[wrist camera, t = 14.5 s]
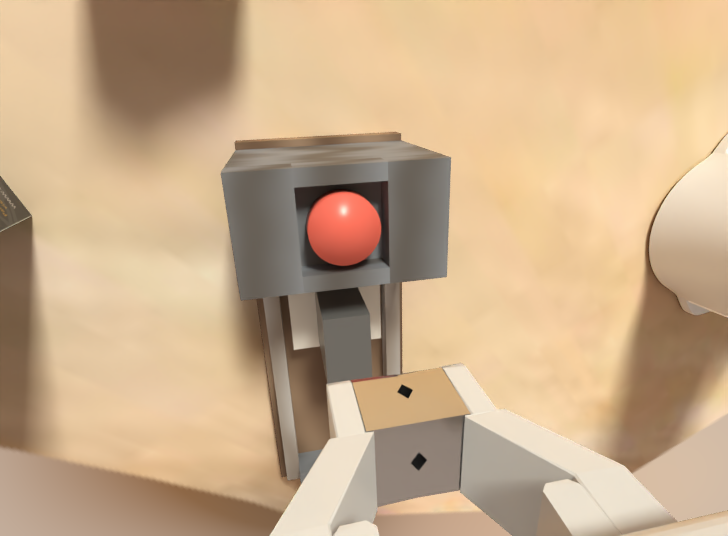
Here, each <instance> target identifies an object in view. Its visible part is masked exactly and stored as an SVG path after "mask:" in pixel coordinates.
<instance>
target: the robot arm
mask: <svg viewBox="0 0 728 536" xmlns="http://www.w3.org/2000/svg"><path fill="white" fill-rule="evenodd" d="M649 257H650V263H651V267H652V269H653V272H654V274H655V276H656V277H657V279H658V280H659V281H660V282H661V283H662V284H663V285H664V286H665V287H667V288H668V289H670V290H671V291H673V292H674V293H675V294H676V295H677V298H678V300H679V303H680V305H681V307H682V309H683V310H684V311H685V312H688V313H690V314H693V315H701V314H704V313H707V312H710V311H712V312H715V313H717V314H719V315H722V316H724V317H727V318H728V134H727V135H726V136H725V137H724V138H723V140H722V141H721V142H720V143H719V145H718V146H717V147H716V149H715V150H714V152H713V153H712V154H711V155H710V156H709V157H707V158H706V159H705V160H704V161H702V162H701V163H699V164H698V165H697V166H695V167H694V168H693V169H691V170H690V171H689V172H688V173H687V174H686V175H685V176H684V177H683V178H682V179H681V180H680V181H679V182H678V183H677V184H676V185H675V186H674V188H673V189H672V190H671V191H670V193H669V194H668V196H667V197H666V199H665V200H664V202H663V204H662V205H661V207H660V209H659V211H658V214H657V216H656V218H655V221H654V224H653V227H652V231H651V235H650V242H649ZM326 393H327V405H328V417H329V429H330V438H331V439H329V440H328V442H327V443H326V445H325V447H324V448H323V450H322V451H321V453H320V455H319V456H318V458H317V460H316V461H315V463H314V464H313V466H312V468H311V469H310V471H309V473H308V474H307V476H306V477H305V479H304V481H303V482H302V484H301V486H300V487H299V489H298V490H297V492H296V494H295V495H294V497H293V498H292V500H291V502H290V503H289V505H288V507H287V508H286V510H285V511H284V513H283V515H282V517H281V518H280V520H279V521H278V523H277V524H276V526H275V528H274V530H273V531H272V533H271V534H270V536H379V532H378V529H377V526H376V525H374V524H373V521H374V519H375V515H376V512H377V507H379V506H383V505H387V504H392V503H396V502H400V501H405V500H409V499H413V498H417V497H423V496H429V495H435V494H441V493H447V492H452V491H458V490H460V493H462V494H463V495H464V496H465V497H466V498H468V499H469V500H470V501H471V502H472V503H474V504H475V505H476V506H477V507H478V508H480V509H481V510H482V511H483V512H484V513H486V514H487V515H488V516H489V517H490V518H492V519H493V520H494V521H495V522H497V523H498V524H499V525H500V526H501V527H503V528H504V529H505V530H506V531H507V532H509V533H510V534H511V535H512V536H728V510H727V511H722V512H719V513H714V514H710V515H705V516H701V517H697V518H693V519H688V520H684V521H680V522H677V520H676V519H675V518H674V517H673V516H672V515H671V514H670V513H669V512H668V511H667V510H666V509H665V508H664V507H663V506H662V505H661V504H660V503H659V502H658V501H657V500H656V498H654V496H653V495H652V494H651V493H650V492H649V491H648V490H647V489H646V488H645V487H644V486H643V485H642V484H641V483H640V482H639V481H638V480H637V479H636V478H635V476H634V475H633V474H632V473H631V472H630V471H629V470H628V469H627V468H626V467H625V466H624V465H622V464H620V463H617V462H615V461H613V460H611V459H609V458H607V457H605V456H603V455H601V454H598V453H596V452H594V451H592V450H590V449H588V448H586V447H584V446H582V445H580V444H577V443H575V442H573V441H571V440H569V439H567V438H565V437H563V436H561V435H559V434H556V433H554V432H552V431H550V430H548V429H546V428H544V427H542V426H540V425H537V424H535V423H533V422H531V421H529V420H527V419H525V418H523V417H521V416H519V415H516V414H514V413H512V412H510V411H508V410H506V409H500V410H498V409H497V408H496V407H495V405H494V404H493V403H492V401H491V400H490V399H489V397H488V396H487V395H486V393H485V392H484V390H483V389H482V388H481V386H480V385H479V384H478V382H477V381H476V380H475V378H474V377H473V375H472V374H471V373H470V371H469V370H468V369H467V367H466V366H465V365H464V364H462V363H459V364H453V365H448V366H442V367H439V368H435V369H429V370H422V371H416V372H410V373H404V374H397V375H396V374H394V375H386V376H379V377H371V378H363V379H355V380H351V381H349V380H348V381H341V382H335V383H328V384H326Z"/></svg>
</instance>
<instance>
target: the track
mask: <svg viewBox="0 0 728 536" xmlns="http://www.w3.org/2000/svg"><path fill="white" fill-rule="evenodd" d="M235 149H236V150H235V152H234V153H233V155H232V157H231V158H230V160H229V161H228V163H227V164H226V166H225V167H224V169H223V170H222V172H221V178H222V184H223V191H224V197H225V204H226V210H227V216H228V223H229V229H230V236H231V242H232V248H233V255H234V261H235V268H236V274H237V280H238V287H239V293H240V299H241V300H250V299H257V305H258V312H259V319H260V326H261V333H262V340H263V347H264V354H265V361H266V368H267V376H268V383H269V390H270V397H271V404H272V411H273V418H274V425H275V432H276V439H277V446H278V453H279V460H280V468H281V475H282V477H284V476H287V480H293V479H298V478H300V480H301V484H302V482H303V481H304V479H305V477H306V476H307V474H308V473H309V471H310V469H311V468H312V466H313V464H314V463H315V461H316V460H317V458H318V456H319V455H320V453H321V451H322V450H323V448H324V447H325V445H326V443H327V442H328V440H329V439H331V438H330V429H329V417H328V405H327V393H326V384H327V379H326V374H325V369H324V364H323V359H322V354H321V349H320V346H319V347H312V348H304V349H297V350H294V346H293V337H292V328H291V319H290V310H289V301H288V295H294V294H302V293H311V292H320V291H329V290H337V289H346V288H355V287H364V286H372V285H380V315H381V338H378V339H371V356H372V377H379V376H386V375H394V374H396V375H397V374H402V282H407V281H416V280H425V279H433V278H442V277H447V255H448V227H449V199H450V171H451V157H448V156H445V155H442V154H439V153H436V152H433V151H430V150H428V149H425V148H422V147H419V146H416V145H413V144H410V143H407V142H404V141H401V133H397V132H387V133H369V134H351V135H333V136H315V137H297V138H279V139H261V140H243V141H236V142H235ZM336 189H348V190H352V191H355V192H357V193H359V194H361V195H362V196H363V197H365V198H366V200H367V201H368V202H369V203H370V204H371V205H372V206H373V207H374V208H375V210H376V211H377V213H378V215H379V218H380V222H381V235H380V239H379V242H378V244H377V246H376V248H375V250H374V251H373V252H372V253H371V254H370V255H369V256H368V257H367V258H365V259H364V260H362V261H361V262H358V263H356V264H353V265H347V266H339V265H334V264H331V263H328V262H326V261H324V260H323V259H321V258H320V257H319V256H318V255H317V254H316V253H315V252H314V250H313V248H312V246H311V244H310V241H309V238H308V234H307V229H306V218H307V214H308V211H309V209H310V207H311V206H312V204H313V203H314V201H315V200H316V199H317V198H319V197H320V196H321V195H323V194H324V193H326V192H329V191H332V190H336Z"/></svg>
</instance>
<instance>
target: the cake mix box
mask: <svg viewBox="0 0 728 536" xmlns="http://www.w3.org/2000/svg"><path fill="white" fill-rule="evenodd" d="M31 216H32V215H31V214H30V213H29V212H28V210H27V209H26V208H25V207H24V205H23V204H22V203H21V201H20V200H19V199H18V198H17V196H16V195H15V194H14V193H13V191H12V190H11V189H10V188H9V186H8V185H7V184H6V183H5V181H4V180H3V179H2V178H1V176H0V232H1V231H3V230H5V229H7V228H9V227H11V226H13V225H15V224H17V223H19V222H21V221H23V220H25V219H27V218H29V217H31Z"/></svg>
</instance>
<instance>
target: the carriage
mask: <svg viewBox="0 0 728 536" xmlns="http://www.w3.org/2000/svg"><path fill="white" fill-rule="evenodd" d="M288 301H289V310H290V319H291V328H292V337H293V346H294V350H297V349H304V348H312V347H319V346H320V349H321V354H322V359H323V364H324V369H325V374H326V379H327V384H328V383H335V382H341V381H348V380H349V381H351V380H355V379H363V378H371V377H372V356H371V339H378V338H381V315H380V285H372V286H364V287H355V288H346V289H337V290H329V291H320V292H311V293H302V294H294V295H288Z"/></svg>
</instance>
